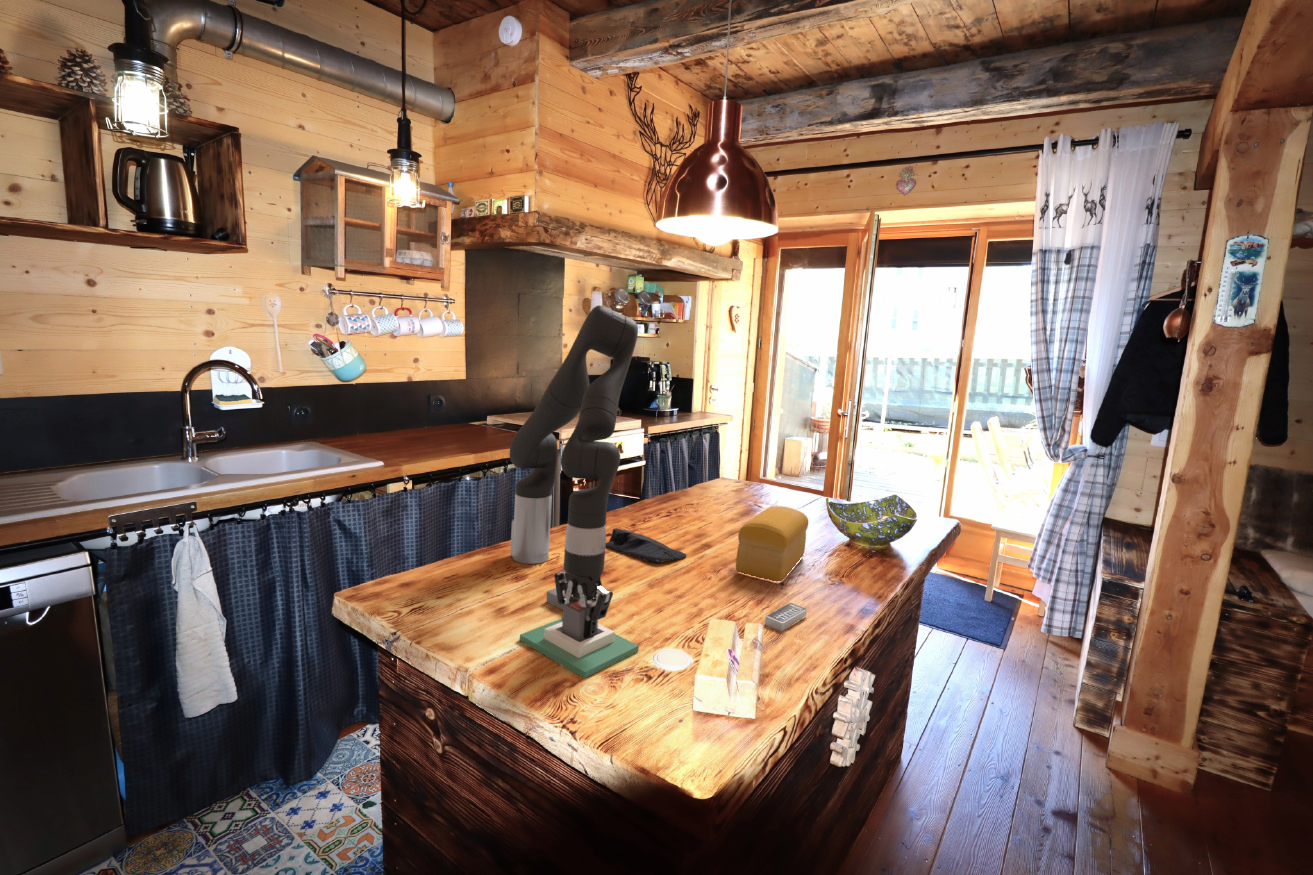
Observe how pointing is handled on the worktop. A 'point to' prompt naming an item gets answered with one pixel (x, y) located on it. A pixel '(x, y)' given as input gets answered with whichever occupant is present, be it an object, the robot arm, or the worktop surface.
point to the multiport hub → (785, 616)
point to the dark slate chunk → (642, 546)
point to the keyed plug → (575, 620)
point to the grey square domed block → (554, 598)
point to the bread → (772, 543)
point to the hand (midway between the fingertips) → (579, 631)
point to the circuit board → (579, 648)
